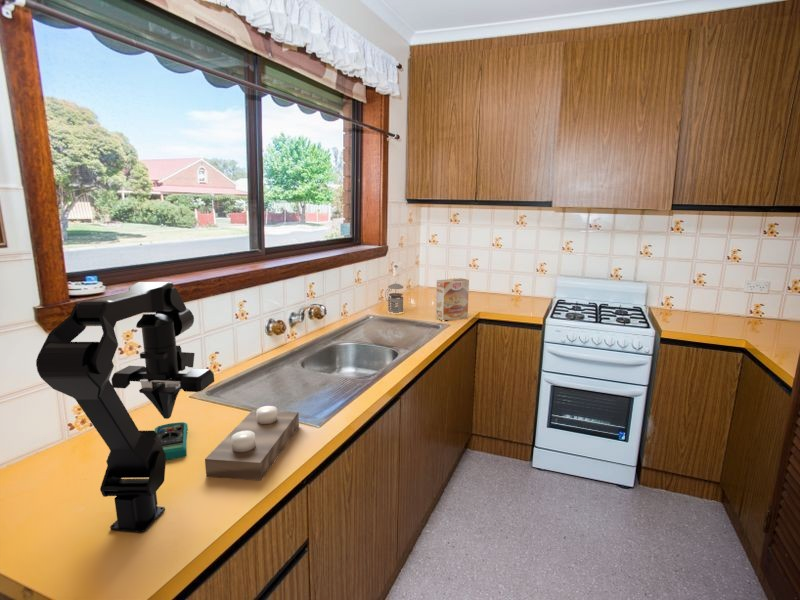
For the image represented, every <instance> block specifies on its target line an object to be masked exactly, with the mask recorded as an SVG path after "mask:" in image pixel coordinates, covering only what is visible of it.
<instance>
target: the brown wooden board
mask: <svg viewBox="0 0 800 600" xmlns="http://www.w3.org/2000/svg"><path fill="white" fill-rule="evenodd" d="M256 411H257V409H252V410H251V411H250V412H249V413H248V414H247V415H246V416H245V417H244V419H242V420H241V422H239V424H237V426H235V427H234V429H233V430H232V431H231V432H230V433H228V435H227V436H225V438H224V439H223V440H221V442H220V443H219V444H218V445H217V446H216V447H215V448H214V449H213V450H212V451H211V452H210V453H208V455H207V456H206V457H205V458H204V465H205V466H204V467H205V475H206V477H210V478H224V479H237V480H238V479H239V480H251V481H253V480H254V481H262V480H263V479H264V477H265V476H266V475H267V473H268V472H269V470H270V469H271V468H272V466H273V465H274V463H275V462H274V461H276V460H277V459H278V457H279V456H280V455H281V453H282V452H283V450H284V448H286V446H287V445H288V444H289V442H290V440H291V439H292V437H294V435H295V434H296V432H297V431H298V429H299V427H300V418H299V417H300V416H299V414H300V413H299V411H288V410H287V411H286V410H277V420H276V421H275V422H273V423H271V424H260V423H258V422H257V412H256ZM240 431H252V432H254V433H255V447H254V448H253V449H252V450H249V451H246V452H235V451H234V450H233V449H232V435H233V434H235V433H237V432H240ZM279 454H280V455H279ZM272 464H273V465H272ZM265 474H266V475H265Z"/></svg>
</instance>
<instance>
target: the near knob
mask: <svg viewBox="0 0 800 600" xmlns="http://www.w3.org/2000/svg"><path fill="white" fill-rule="evenodd" d="M254 447H255V433H254V432H252V431H240V432H237V433H235V434H233V435H232V449H233V450H234V451H235V452H246V451H249V450H252V449H253V448H254Z"/></svg>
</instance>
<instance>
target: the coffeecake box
mask: <svg viewBox="0 0 800 600" xmlns="http://www.w3.org/2000/svg"><path fill="white" fill-rule="evenodd" d="M469 285H470V279H465V278H462V277H458V278H449V279H448V278H447V279H437V280H436V295H435V299H436V301H435V319H436V318H437V319H436V320H438V319H440V320H444V322H446V321H445V320H451V321H456V319H459V320H465V319H468V317H469V316H468V315H469V313H468V312H469V311H468V310H469V290H470V287H469ZM440 320H439V321H440Z"/></svg>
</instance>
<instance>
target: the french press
mask: <svg viewBox="0 0 800 600" xmlns="http://www.w3.org/2000/svg"><path fill="white" fill-rule="evenodd" d="M393 268H395V269H397V268H398V265H397V264H394V265H393ZM400 289H404V286H403V285H402V284H400V283H397V282H395V283H392V284H390V285H388V287H387V289H386V290H385V294H384V295H385V300H386V301H387V302H388V303H387V304H388V305H387V307H388V308H387V309H388V310H387V311H389V312H393V313H399V312H403V311H404V296H403V293H399V292H395V293H394V292H392V290H400ZM387 292H392V293H388V296H387Z"/></svg>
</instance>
